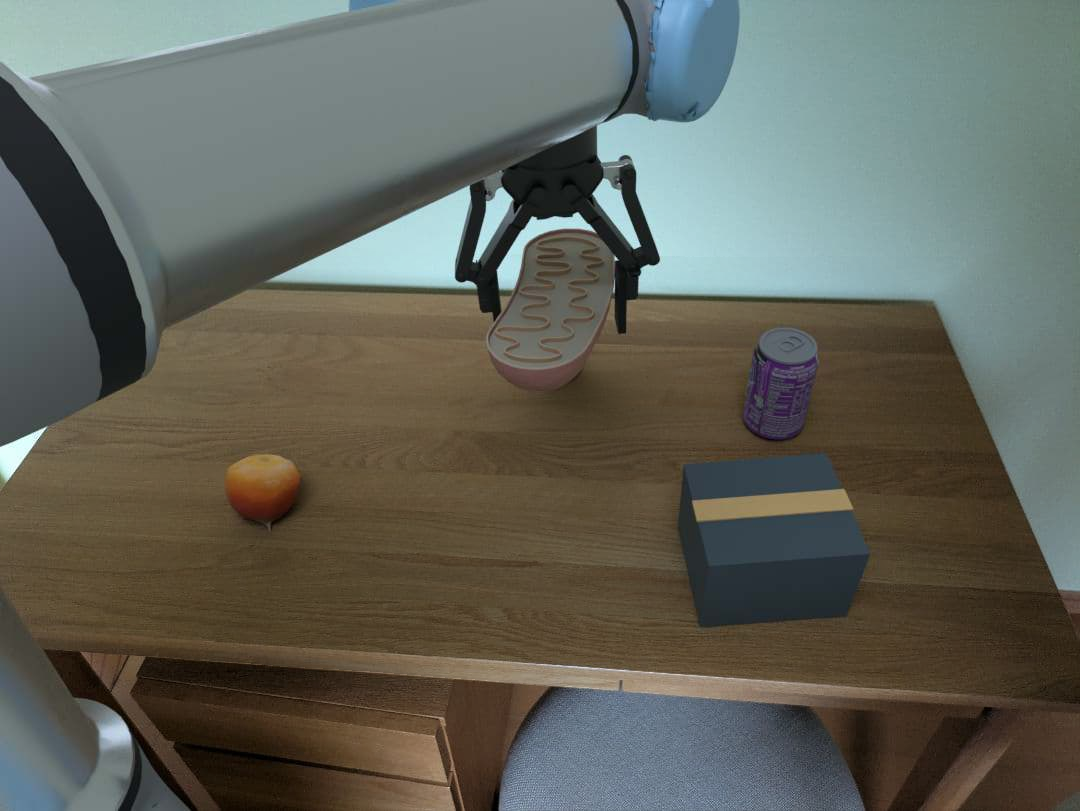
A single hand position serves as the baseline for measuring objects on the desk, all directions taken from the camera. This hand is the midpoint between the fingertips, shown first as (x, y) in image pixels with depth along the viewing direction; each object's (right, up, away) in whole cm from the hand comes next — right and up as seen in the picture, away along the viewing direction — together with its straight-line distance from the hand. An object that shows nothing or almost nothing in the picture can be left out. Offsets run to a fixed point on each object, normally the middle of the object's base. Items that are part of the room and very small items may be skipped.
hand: (560, 330), depth 75 cm
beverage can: (+26, -9, +18) cm, 33 cm away
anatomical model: (0, 0, 0) cm, 0 cm away
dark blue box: (+20, -24, +3) cm, 31 cm away
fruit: (-32, -19, +14) cm, 40 cm away
